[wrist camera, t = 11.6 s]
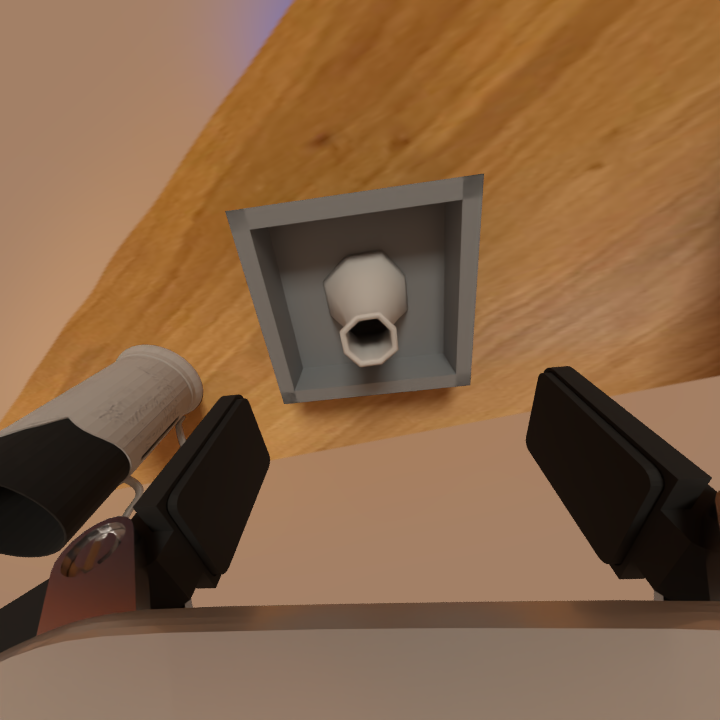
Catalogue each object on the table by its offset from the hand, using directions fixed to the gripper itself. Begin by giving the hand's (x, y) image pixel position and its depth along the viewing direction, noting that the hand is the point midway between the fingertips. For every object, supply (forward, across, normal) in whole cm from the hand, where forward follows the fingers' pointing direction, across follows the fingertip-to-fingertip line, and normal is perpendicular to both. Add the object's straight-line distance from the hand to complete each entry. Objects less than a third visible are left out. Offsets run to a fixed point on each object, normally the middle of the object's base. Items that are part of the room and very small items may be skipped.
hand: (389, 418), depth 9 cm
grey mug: (+17, +22, +9) cm, 30 cm away
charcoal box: (+18, +1, 0) cm, 18 cm away
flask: (+17, +1, 0) cm, 17 cm away
